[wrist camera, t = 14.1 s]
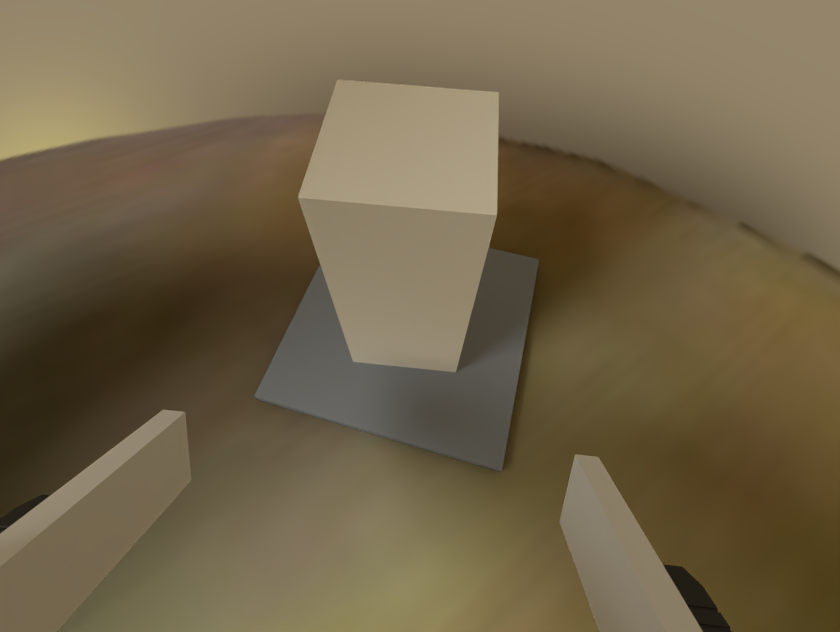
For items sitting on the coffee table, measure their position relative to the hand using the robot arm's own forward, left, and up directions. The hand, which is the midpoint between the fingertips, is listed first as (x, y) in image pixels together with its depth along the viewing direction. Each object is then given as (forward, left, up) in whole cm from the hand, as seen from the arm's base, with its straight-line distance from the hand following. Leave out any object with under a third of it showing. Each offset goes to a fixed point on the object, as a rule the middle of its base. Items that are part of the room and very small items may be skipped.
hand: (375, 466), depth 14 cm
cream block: (-2, +9, -8) cm, 12 cm away
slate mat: (-2, +9, -8) cm, 13 cm away
